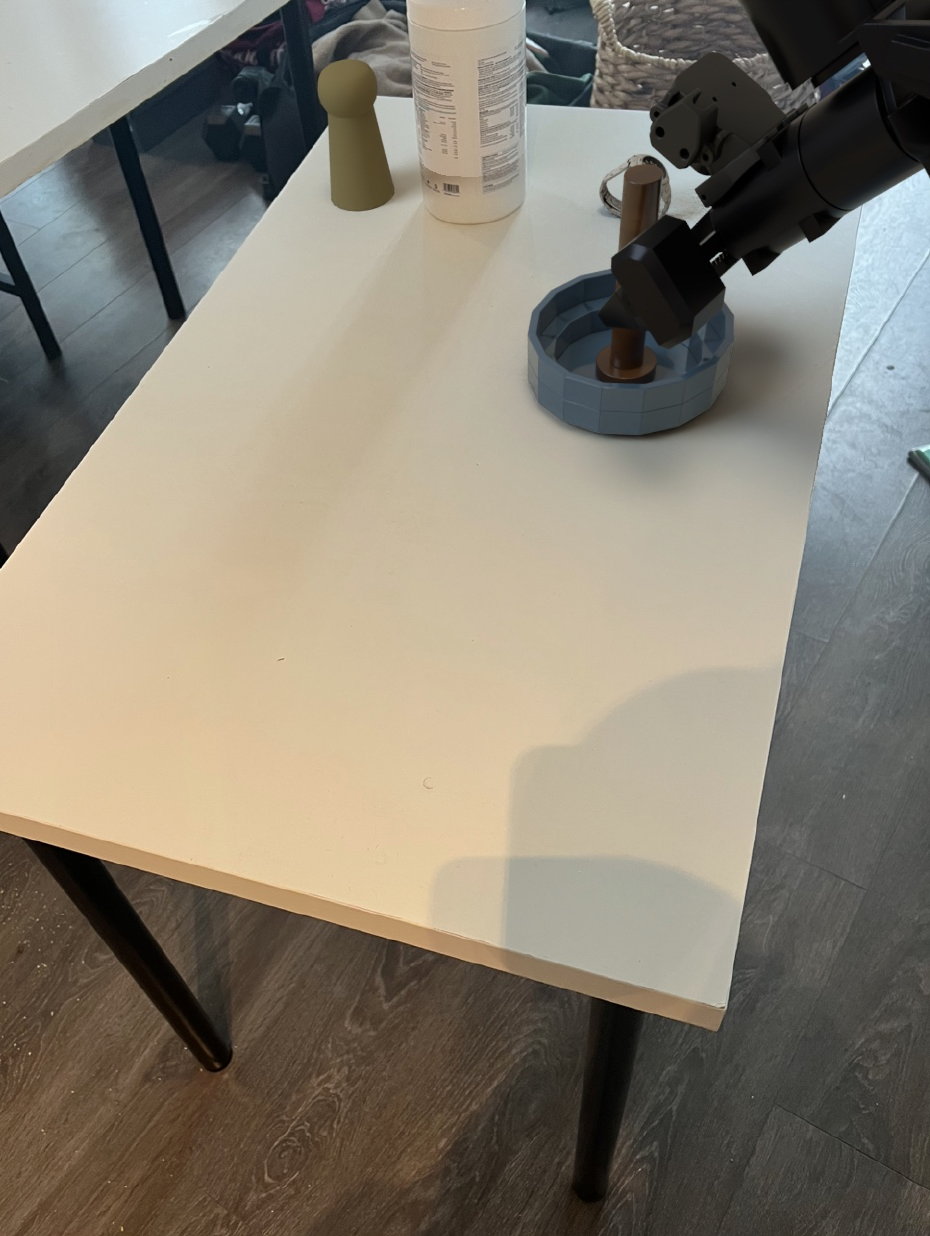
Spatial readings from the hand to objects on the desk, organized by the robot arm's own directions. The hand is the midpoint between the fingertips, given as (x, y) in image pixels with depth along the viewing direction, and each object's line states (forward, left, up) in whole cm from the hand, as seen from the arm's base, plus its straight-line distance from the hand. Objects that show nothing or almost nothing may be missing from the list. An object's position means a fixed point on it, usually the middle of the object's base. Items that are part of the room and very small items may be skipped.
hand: (642, 284), depth 66 cm
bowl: (0, 0, -8) cm, 8 cm away
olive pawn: (+14, -34, -8) cm, 38 cm away
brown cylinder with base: (0, 0, -7) cm, 7 cm away
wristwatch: (-8, -21, -8) cm, 24 cm away
